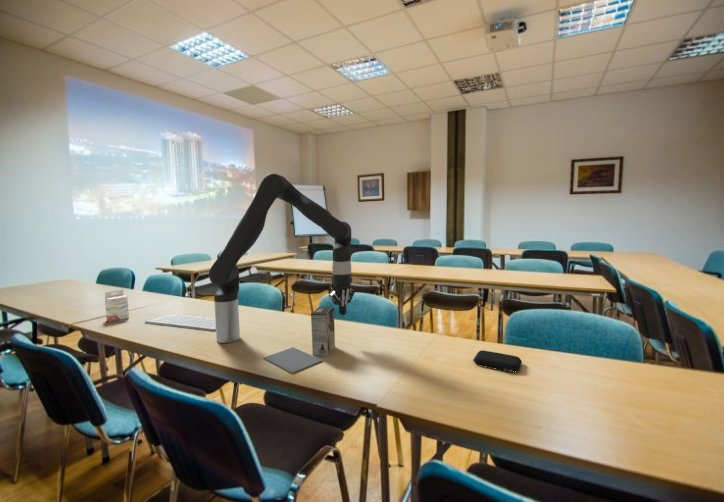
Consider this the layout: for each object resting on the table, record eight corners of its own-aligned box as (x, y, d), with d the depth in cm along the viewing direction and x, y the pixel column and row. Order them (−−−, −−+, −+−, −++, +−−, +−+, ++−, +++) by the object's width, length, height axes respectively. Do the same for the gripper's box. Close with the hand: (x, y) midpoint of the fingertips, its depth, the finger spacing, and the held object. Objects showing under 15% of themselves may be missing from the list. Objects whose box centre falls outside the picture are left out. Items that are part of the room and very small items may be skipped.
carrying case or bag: (471, 367, 115) (518, 377, 108) (471, 358, 115) (519, 368, 107) (478, 356, 124) (522, 364, 117) (478, 348, 124) (522, 355, 116)
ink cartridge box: (110, 322, 170) (107, 293, 169) (106, 320, 173) (103, 292, 172) (129, 317, 177) (127, 290, 176) (125, 316, 180) (123, 289, 179)
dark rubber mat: (263, 358, 124) (263, 357, 124) (293, 348, 133) (293, 347, 133) (292, 374, 111) (292, 372, 111) (322, 361, 121) (322, 360, 121)
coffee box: (319, 345, 135) (318, 306, 134) (335, 346, 134) (334, 307, 132) (312, 355, 126) (310, 313, 125) (328, 356, 125) (327, 313, 123)
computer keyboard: (240, 321, 171) (240, 318, 170) (212, 333, 153) (212, 330, 153) (176, 313, 186) (176, 310, 185) (144, 324, 168) (144, 321, 168)
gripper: (347, 269, 142) (347, 309, 144) (322, 273, 132) (324, 316, 134) (360, 271, 137) (360, 312, 139) (335, 275, 127) (336, 320, 129)
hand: (342, 314), depth 136 cm, fingers closed
